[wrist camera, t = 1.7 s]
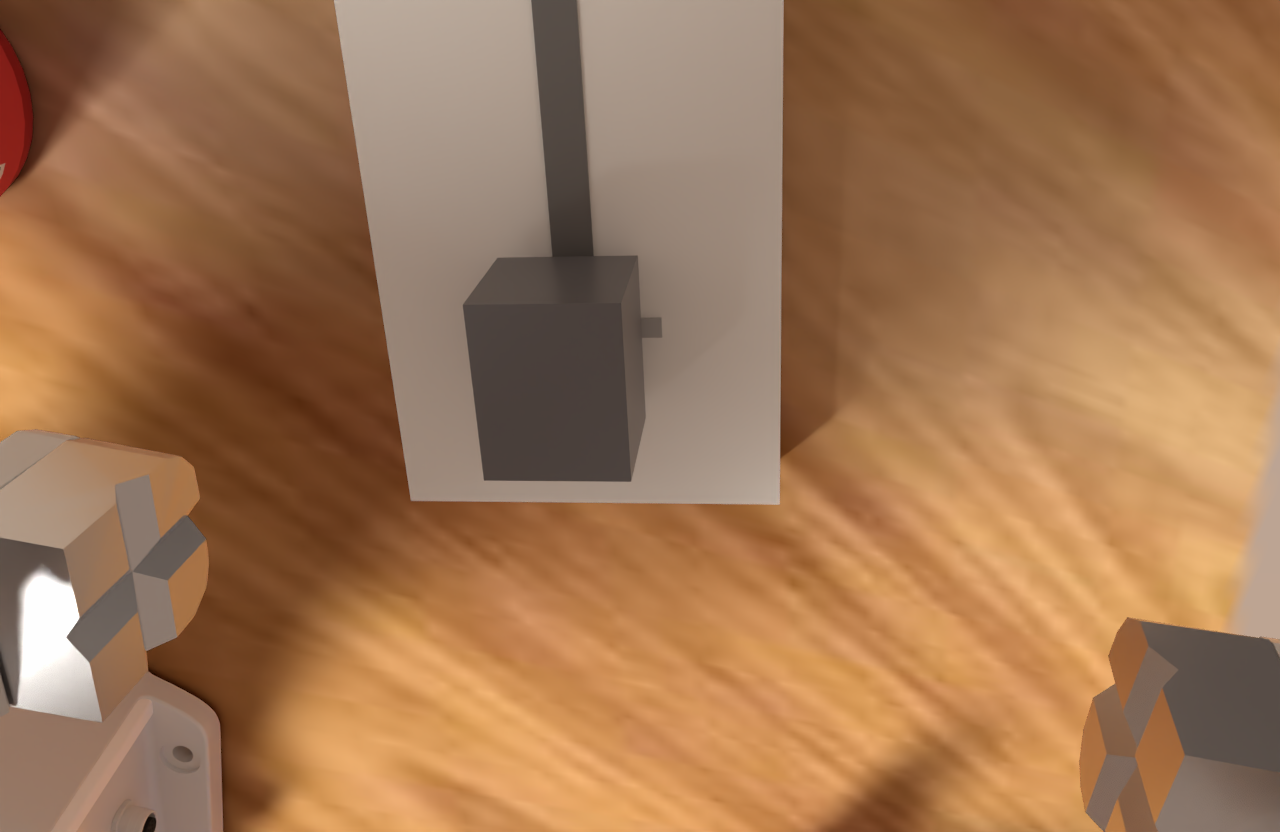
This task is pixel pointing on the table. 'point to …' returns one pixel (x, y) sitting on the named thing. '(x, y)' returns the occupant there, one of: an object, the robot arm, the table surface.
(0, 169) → the canned food
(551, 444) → the block
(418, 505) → the table surface
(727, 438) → the slider panel
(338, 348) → the table surface
